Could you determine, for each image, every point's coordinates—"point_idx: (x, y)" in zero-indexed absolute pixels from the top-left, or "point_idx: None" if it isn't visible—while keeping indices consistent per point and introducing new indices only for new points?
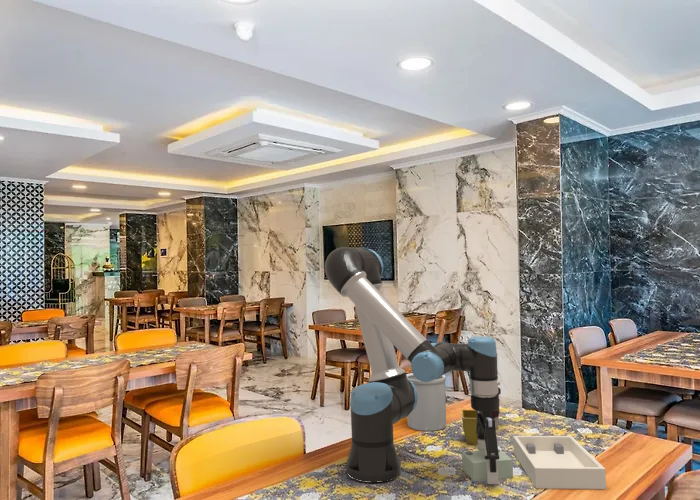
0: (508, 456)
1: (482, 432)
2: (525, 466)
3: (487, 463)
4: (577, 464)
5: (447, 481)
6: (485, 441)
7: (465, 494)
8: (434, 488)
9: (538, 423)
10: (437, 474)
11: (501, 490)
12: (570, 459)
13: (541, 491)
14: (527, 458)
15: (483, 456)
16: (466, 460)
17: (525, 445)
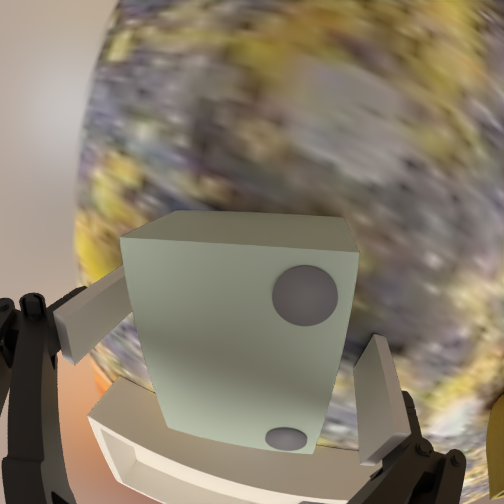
0: (203, 437)
1: (25, 461)
2: None
3: (71, 300)
4: (230, 493)
5: (203, 74)
6: (19, 393)
7: (81, 130)
8: (152, 14)
9: (467, 493)
10: (305, 47)
11: (99, 279)
12: (262, 499)
13: (105, 373)
14: (181, 458)
15: (222, 357)
16: (255, 234)
17: None
